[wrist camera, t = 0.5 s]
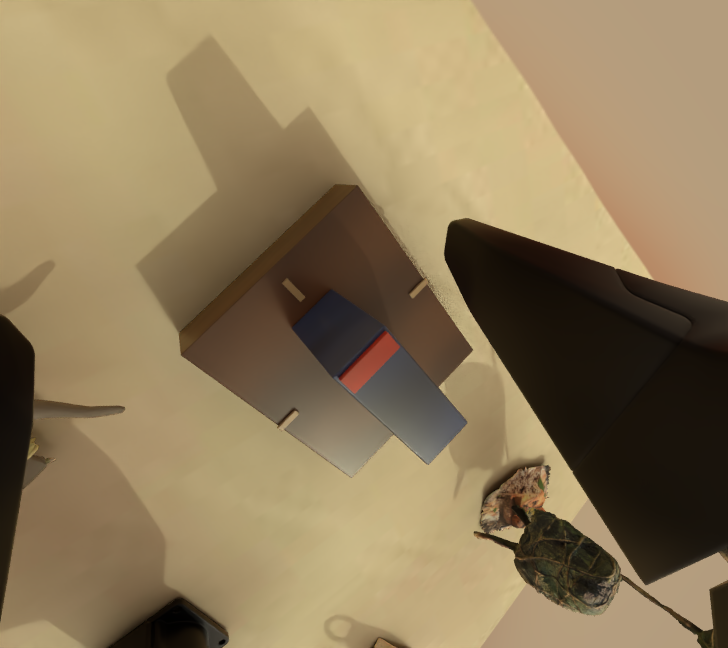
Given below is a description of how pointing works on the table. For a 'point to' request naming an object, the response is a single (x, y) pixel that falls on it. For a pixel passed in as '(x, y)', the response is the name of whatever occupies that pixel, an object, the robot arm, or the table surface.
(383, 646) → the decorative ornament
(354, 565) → the table surface
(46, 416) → the figurine
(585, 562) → the plant with pod
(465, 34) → the table surface
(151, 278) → the table surface
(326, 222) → the brown slab
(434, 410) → the blue block
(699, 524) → the robot arm
